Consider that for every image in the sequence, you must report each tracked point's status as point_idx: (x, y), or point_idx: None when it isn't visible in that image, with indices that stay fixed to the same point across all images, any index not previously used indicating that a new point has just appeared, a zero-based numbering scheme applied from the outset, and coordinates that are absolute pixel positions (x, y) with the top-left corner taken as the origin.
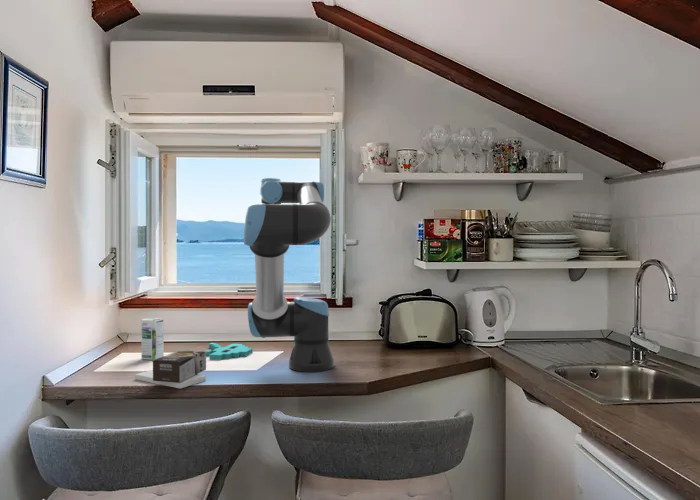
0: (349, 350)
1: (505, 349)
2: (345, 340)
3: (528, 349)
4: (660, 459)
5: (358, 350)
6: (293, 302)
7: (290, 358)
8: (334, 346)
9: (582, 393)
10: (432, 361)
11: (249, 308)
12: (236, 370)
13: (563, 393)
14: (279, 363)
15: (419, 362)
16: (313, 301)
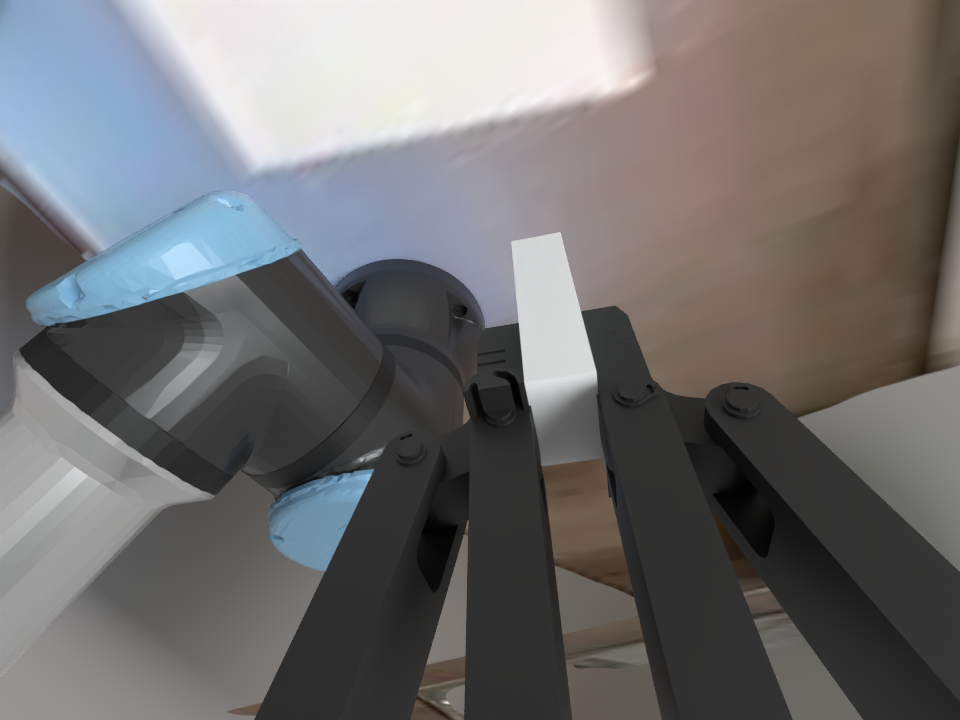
0: (702, 347)
1: (764, 618)
2: (934, 263)
3: (767, 641)
4: (252, 706)
5: (707, 372)
6: (288, 485)
7: (365, 282)
8: (781, 270)
9: (451, 681)
10: (596, 543)
11: (30, 312)
12: (186, 89)
13: (439, 671)
14: (393, 202)
15: (576, 526)
16: (310, 567)
